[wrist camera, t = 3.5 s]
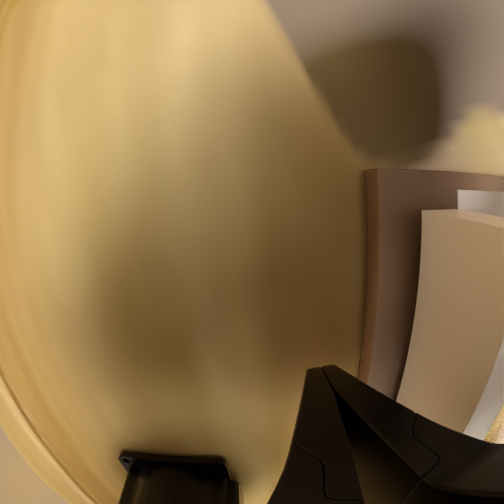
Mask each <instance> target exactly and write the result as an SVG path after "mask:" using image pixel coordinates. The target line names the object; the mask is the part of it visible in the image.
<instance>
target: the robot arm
mask: <svg viewBox="0 0 504 504" xmlns="http://www.w3.org/2000/svg"><path fill="white" fill-rule="evenodd" d="M119 460H120V462H121V463H122V465H123V466H124V468H125V469H126V470H127V472H128V474H127V477H126V480H125V484H124V487H123V490H122V493H121V497H120V500H119V503H118V504H244V501H243V495H242V491H241V488H240V484H239V482H238V481H236V480H232V477H231V474H230V471H229V468H228V464H227V462H226V460H224V459H222V458H190V457H170V456H157V455H147V454H139V453H131V452H121V453H120V455H119ZM267 504H504V444H495V443H490V442H486V441H483V440H480V439H477V438H474V437H471V436H469V435H466V434H463V433H460V432H457V431H455V430H452V429H450V428H447V427H445V426H442V425H440V424H438V423H436V422H434V421H432V420H430V419H428V418H426V417H424V416H422V415H420V414H418V413H414V411H413V410H411V409H409V408H407V407H405V406H404V405H402V404H400V403H398V402H396V401H395V400H393V399H391V398H389V397H388V396H386V395H384V394H382V393H381V392H379V391H377V390H376V389H374V388H372V387H370V386H369V385H367V384H365V383H364V382H362V381H360V380H359V379H357V378H355V377H354V376H352V375H350V374H349V373H347V372H345V371H344V370H342V369H341V368H339V367H337V366H336V365H327V366H322V367H321V368H320V367H315V368H309V369H307V371H306V376H305V381H304V386H303V391H302V396H301V401H300V406H299V411H298V415H297V420H296V424H295V429H294V433H293V437H292V441H291V445H290V449H289V453H288V457H287V460H286V463H285V466H284V469H283V472H282V474H281V476H280V479H279V481H278V483H277V486H276V488H275V490H274V492H273V493H272V495H271V497H270V499H269V501H268V503H267Z"/></svg>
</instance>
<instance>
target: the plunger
mask: <svg viewBox="0 0 504 504" xmlns="http://www.w3.org/2000/svg"><path fill="white" fill-rule="evenodd" d="M396 402H398V403H400V404H402V405H404V406H405V407H407V408H409V409H411V410H413V411H414V413H418V414H420V415H422V416H424V417H426V418H428V419H430V420H432V421H434V422H436V423H438V424H440V425H442V426H445V427H447V428H450V429H452V430H455V431H457V432H460V433H463V434H466V435H469V436H471V437H474V438H477V439H480V440H483V439H484V438H485V436H486V434H487V433H488V431H489V429H490V428H491V426H492V424H493V423H494V421H495V419H496V417H497V416H498V414H499V412H500V410H501V408H502V406H503V404H504V218H503V217H499V216H494V215H489V214H484V213H479V212H474V211H468V210H463V209H443V210H422V236H421V258H420V272H419V283H418V293H417V301H416V309H415V316H414V322H413V329H412V334H411V340H410V345H409V350H408V355H407V360H406V365H405V369H404V373H403V377H402V381H401V385H400V389H399V393H398V397H397V400H396Z"/></svg>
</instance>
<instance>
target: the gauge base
mask: <svg viewBox="0 0 504 504" xmlns="http://www.w3.org/2000/svg"><path fill="white" fill-rule="evenodd" d="M365 178H366V195H367V224H368V261H367V290H366V308H365V321H364V332H363V342H362V352H361V360H360V368H359V375H358V379H359V380H360V381H362V382H364V383H365V384H367V385H369V386H370V387H372V388H374V389H376V390H377V391H379V392H381V393H382V394H384V395H386V396H388V397H389V398H391V399H393V400H395V401H396V400H397V397H398V393H399V389H400V385H401V381H402V377H403V373H404V369H405V365H406V360H407V355H408V350H409V345H410V340H411V334H412V329H413V322H414V316H415V309H416V301H417V293H418V283H419V272H420V258H421V236H422V210H443V209H463V210H468V211H474V212H479V213H484V214H489V215H494V216H499V217H503V218H504V177H499V176H491V175H482V174H471V173H460V172H447V171H430V170H408V169H370V170H365Z"/></svg>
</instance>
